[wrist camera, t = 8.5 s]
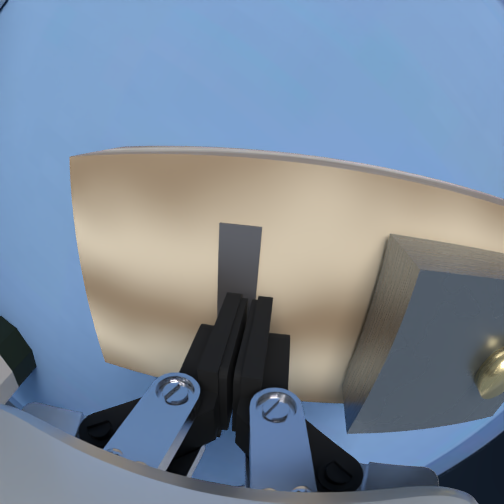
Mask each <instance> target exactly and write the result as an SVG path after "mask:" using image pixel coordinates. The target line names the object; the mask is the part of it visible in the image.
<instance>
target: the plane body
mask: <svg viewBox="0 0 504 504" xmlns="http://www.w3.org/2000/svg"><path fill="white" fill-rule="evenodd" d="M70 179H71V194H72V205H73V215H74V224H75V232H76V239H77V246H78V252H79V258H80V264H81V269H82V274H83V279H84V284H85V289H86V294H87V298H88V302H89V306H90V311H91V315H92V318H93V322H94V326H95V330H96V333H97V337H98V340H99V343H100V347H101V350H102V353H103V356H104V359H105V362H107V363H110V364H114V365H117V366H120V367H123V368H127V369H130V370H133V371H137V372H140V373H144V374H148V375H151V376H155V377H160V376H162V375H164V374H167V373H176V372H179V371H180V369H181V367H182V364H183V362H184V360H185V358H186V355H187V353H188V351H189V349H190V347H191V344H192V342H193V340H194V338H195V335H196V333H197V331H198V329H199V327H200V325H201V324H208V325H215V322H216V320H217V317H218V314H219V312H220V309H221V307H222V304H223V302H224V299H225V297H226V294H227V292H231V293H239V294H242V295H243V298H248V306H247V318H248V314H249V310H250V306H251V302H252V299H256V300H258V296H265V297H273V305H272V313H271V322H270V330H269V333H278V334H287V335H290V360H289V381H288V390H289V391H291V392H292V393H294V394H295V395H296V396H297V397H298V398H299V399H300V401H306V402H322V403H344V402H343V393H342V383H343V381H344V378H345V376H346V373H347V371H348V368H349V366H350V363H351V361H352V358H353V355H354V353H355V350H356V347H357V345H358V342H359V339H360V336H361V333H362V330H363V327H364V324H365V321H366V318H367V315H368V312H369V309H370V306H371V303H372V299H373V296H374V293H375V289H376V286H377V282H378V279H379V275H380V272H381V268H382V264H383V260H384V256H385V252H386V248H387V244H388V240H389V236H390V234H397V235H403V236H410V237H416V238H422V239H428V240H434V241H440V242H446V243H452V244H457V245H463V246H468V247H474V248H479V249H484V250H490V251H495V252H500V253H504V199H502V198H499V197H496V196H493V195H489V194H486V193H483V192H480V191H477V190H473V189H470V188H467V187H463V186H460V185H456V184H452V183H449V182H445V181H441V180H437V179H433V178H429V177H425V176H421V175H417V174H412V173H408V172H403V171H399V170H394V169H389V168H384V167H379V166H374V165H368V164H363V163H357V162H351V161H345V160H338V159H332V158H325V157H318V156H310V155H302V154H294V153H284V152H275V151H264V150H252V149H238V148H220V147H194V146H133V147H120V148H114V149H108V150H102V151H96V152H91V153H86V154H81V155H76V156H71V157H70Z"/></svg>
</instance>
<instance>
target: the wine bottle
mask: <svg viewBox="0 0 504 504" xmlns="http://www.w3.org/2000/svg"><path fill="white" fill-rule="evenodd" d="M35 367H36V364H35V360H34V356H33V353H32V350H31V348H30V347H29V346H28V344H27V343H26V342H25V340H24V339H23V337H22V336H21V334H20V333H19V331H18V330H17V328H15V327H14V326H13V325H12V324H10V323H9V322H8V321H6V320H5V319H4V318H3V317H2V316H0V404H4V405H5V403H6V402H7V401H8V400H9V398H10V397H11V396H12V395H13V394H14V392H15V391H16V390H17V389H18V387H19V386H20V385H21V384H22V383H23V381H24V380H25V379H26V378H27V377H28V376H29V374H30V373H31V372H32V371H33V370H34V369H35Z"/></svg>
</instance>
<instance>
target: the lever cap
mask: <svg viewBox="0 0 504 504" xmlns="http://www.w3.org/2000/svg"><path fill="white" fill-rule="evenodd" d="M342 393H343V402H344V411H345V421H346V431H347V434H353V433H383V432H397V431H408V430H418V429H426V428H434V427H440V426H447V425H452V424H458V423H463V422H468V421H473V420H477V419H482V418H486V417H490V416H493V414H494V413H495V412H496V411H497V409H498V408H499V407H500V406H501V404H502V403H503V402H504V253H500V252H495V251H490V250H484V249H479V248H474V247H468V246H463V245H457V244H452V243H446V242H440V241H434V240H428V239H422V238H416V237H410V236H403V235H397V234H390V236H389V240H388V244H387V248H386V252H385V256H384V260H383V264H382V268H381V272H380V275H379V279H378V282H377V286H376V289H375V293H374V296H373V299H372V303H371V306H370V309H369V312H368V315H367V318H366V321H365V324H364V327H363V330H362V333H361V336H360V339H359V342H358V345H357V347H356V350H355V353H354V355H353V358H352V361H351V363H350V366H349V368H348V371H347V373H346V376H345V378H344V381H343V383H342Z"/></svg>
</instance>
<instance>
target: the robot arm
mask: <svg viewBox="0 0 504 504" xmlns="http://www.w3.org/2000/svg"><path fill="white" fill-rule="evenodd" d="M5 1H6V0H0V8H1V7H2V6H3V4H4V3H5ZM272 305H273V297H265V296H258V300H256V299H252V302H251V306H250V310H249V314H248V318H247V306H248V298H243V295H242V294H239V293H231V292H227V294H226V297H225V299H224V302H223V304H222V307H221V309H220V312H219V314H218V317H217V320H216V322H215V325H208V324H201V325H200V327H199V329H198V331H197V333H196V335H195V338H194V340H193V342H192V344H191V347H190V349H189V351H188V353H187V355H186V358H185V360H184V362H183V364H182V367H181V369H180V371H179V372H176V373H167V374H164V375H162V376H160V377H158V378H157V379H156V380H155V381H154V382H153V383H152V384H151V386H150V387H149V388H148V390H147V391H146V392H145V394H144V395H143V396H142V397H141V398H139V399H136V400H133V401H130V402H127V403H124V404H121V405H118V406H115V407H112V408H109V409H106V410H102V411H99V412H96V413H93V414H91V415H89V416H84V415H83V413H82V412H77V411H72V410H67V409H62V408H58V407H54V406H50V405H46V404H42V403H36V402H33V403H29V404H27V405H26V406H24V407H23V409H22V410H20V409H17V408H15V407H12V406H8V405H4V404H0V504H478V503H477V502H476V501H475V499H474V498H473V497H472V496H471V495H469V494H467V493H465V492H462V491H459V490H456V489H451V488H446V487H439V482H438V477H437V475H436V474H435V472H434V471H432V470H431V469H429V468H426V467H417V466H402V465H391V464H382V463H374V462H369V464H361V463H359V462H358V461H357V460H356V459H355V458H353V457H352V456H351V455H350V454H348V453H347V452H346V451H344V450H343V449H342V448H340V447H339V446H338V445H337V444H335V443H334V442H333V441H331V440H330V439H329V438H328V437H326V436H325V435H324V434H323V433H322V432H320V431H319V430H318V429H317V428H315V427H314V426H313V425H312V424H311V423H309V422H308V421H307V420H306V419H305V417H304V411H303V406H302V403H301V401H300V399H299V398H298V397H297V396H296V395H295V394H294V393H292V392H291V391H289V390H288V381H289V360H290V335H287V334H278V333H269V330H270V322H271V313H272ZM232 409H233V415H232V431H235V432H236V438H235V443H236V444H237V445H238V446H239V447H240V448H241V450H242V451H243V452H244V453H245V488H244V487H237V486H231V485H225V484H219V483H213V482H208V481H203V480H199V479H194V478H191V476H192V474H193V472H194V470H195V468H196V466H197V464H198V463H199V460H200V458H201V456H202V454H203V452H204V450H205V448H206V444H207V443H209V442H211V441H213V440H215V439H216V437H220V435H221V431H222V429H223V430H228V427H229V422H230V418H231V414H232Z"/></svg>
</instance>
